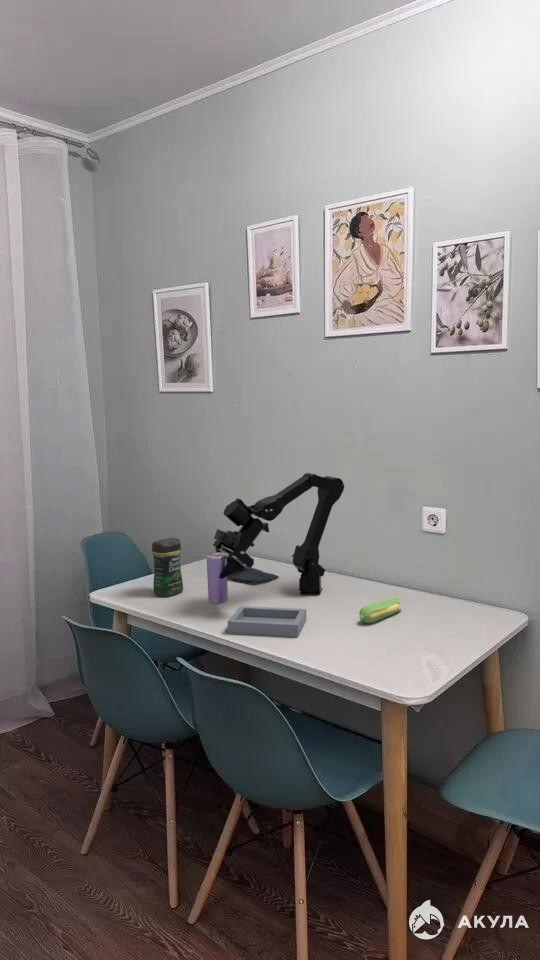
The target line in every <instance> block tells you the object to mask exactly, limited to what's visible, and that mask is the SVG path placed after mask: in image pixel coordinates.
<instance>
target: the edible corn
mask: <svg viewBox="0 0 540 960" xmlns="http://www.w3.org/2000/svg"><path fill="white" fill-rule="evenodd" d="M402 598H403V597H402V596H397V597H394V598H390V599H387V600H384V601H383V600H382V601H379V602H375V603H370V604H367V605H364V606H363V607H361V609H359V619H360V621H361V622H362V623H364V624H367V625H370V624H373V623H375V621H376V622H378V621H380V619H381V620H384V619H385V617H386V618H388V617H390V615H391V616H393V615H396V614H398V613H401V612H400V611H401V610H400V609H399V608H400V607H401V602H400V601H401V600H402ZM397 612H398V613H397ZM395 613H396V614H395ZM369 623H370V624H369Z"/></svg>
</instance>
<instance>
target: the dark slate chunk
mask: <svg viewBox="0 0 540 960" xmlns="http://www.w3.org/2000/svg"><path fill="white" fill-rule="evenodd" d="M244 567H245V568H243V569H241V570H239V571H236V572H234V573H233V574H231V575H229V576H227V581H233V582H234V581H235V582H237V581H240V582H239V583H243V582H244V583H245V584H249V583H252V584H251V585H256V584H257V585H258V584H260V583H265V582H269V581H274V579H275V580H278V579H279V578H280V576H279V575H278V574H277V575H276V574H273V573H269V572H265V571H263V570H261V569H258V568H255V567H251V568H248V567H246V566H245V565H244ZM278 577H279V578H278ZM264 581H265V582H264ZM244 583H243V584H244Z"/></svg>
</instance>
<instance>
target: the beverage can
mask: <svg viewBox="0 0 540 960" xmlns="http://www.w3.org/2000/svg"><path fill="white" fill-rule="evenodd" d="M226 564H227V559H226V554H225V553H221V552H216V551H215V552H211V553H208V554H207V555H206V571H207V572H206V573H207V576H206V577H207V596H208V599H207V600H208V602H209V604H211V605H212V606H222V605H225V604H226V603H228V601H229V590H228V588H229V587H228V580H227V577H225V578H223V579H221V578H219V576H220V574H221V572H222V571H223V569H224V568H225V566H226Z"/></svg>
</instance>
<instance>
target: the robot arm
mask: <svg viewBox="0 0 540 960" xmlns="http://www.w3.org/2000/svg"><path fill="white" fill-rule="evenodd" d="M313 487H314V488H317V499H318V500H317V501H318V502H317V504H316V506H315V510H314V513H313V516H312V518H311V522H310V524H309V528H308V530H307V534H306V535H305V539H304V541H303V542H302V544H301V545H298V544H297V545H296V546H295V549H294V552H293V554H292V556H291V557H292V564H293V566H294V567H295V568H296V569H297V572H298V573H300V577H299V579H298V586H299V589H298V590H299V595H302V596H303V595H305V596H306V595H307V596H320V595H321V593H322V592H323V587H322V577H324V575H325V572H326V569H325V568H324V567H323V566H322V565H321V564H319V561H320V549H319V547H320V543H321V541H322V537H323V535H324V531H325V529H326V525H327V523H328V521H329V517H330V514H331V511H332V509H333V506H334V505H335V503H337V502H338V500H340V498H341V496H342V494H343V492H344V491H345V483H344V481H343V479H341V478H338V477H335V476H331V475H325V476H320V475H318V474H315V473H311V472H306V473H304V474H303V475H302V476H301V477H300V478H298V479H296V480H295V481H294V482H292V483H291V484H289V485H288V486H286V487H284V488H283V489H282V490H280V491H279V492H277V493H276V494H273V495H270V496H267V497H266V496H265V497H263V498H261V499H260V500H259V499H258V500H257V501H256V502H255V503H254V504H253V505H252V504H251V505H249V506H248V505H247V504H246V503H244V501H243V500H242V499H241V498H236V499H235V500H234V501H232V502H230V503H229V504H227V505H226V506H225V508H224V510H223V515H224V516H225V517H226V518H227V520H229V521H230V522H232V523H233V524H234V526H236V527H240V528H239V530H233V531H231V530H227V531H224V530H221V529H218V528H217V529H216V531H215V535H214V537H213V539H214V540H215V541H214V542H213V543H212V546H213V547H214V550H215V552H221V553H225V554H226V559H227V564H226V566H225V568H224V569H223V571H222V572H221V574H220V576H219V578H221V579H223V578H225V577H227V576H229V575H231V574H233V573H234V572H236V571H239V570H241V569H243V568H245V567H244V566H246V567H248V568H253V566H254V564H255V560H254V558H252V556H250V555H249V554H248V553H247V551H248V550H249V548H250V547H252V548H253V547H254V546H255V543H254V542H255V540H256V539H257V538H258V537H259V535H260V533H262V531H264V532H265V533H270V528H269V523H268V522H271V521H274V520H275V519H276V518H277V517H278V516H279V515H280V514H282V512H283V510H284V508H285V507H286V506H287V505H288V504H290V503H292V501H294V500H296V499H297V498H299V497H300V496H302V495H303V494H305V493H306V492H307V491H309V490H310V489H312V488H313ZM253 516H254V517H253ZM262 520H264V521H268V522H263V521H262Z"/></svg>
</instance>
